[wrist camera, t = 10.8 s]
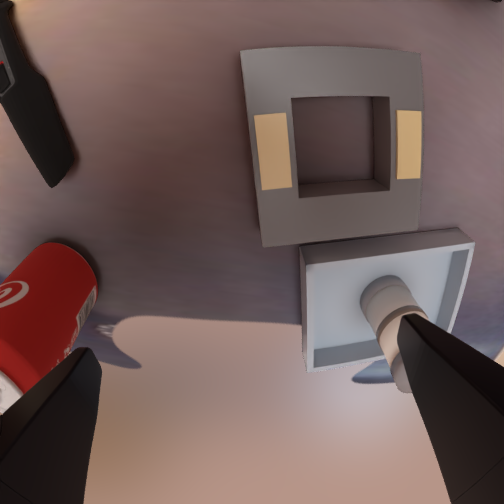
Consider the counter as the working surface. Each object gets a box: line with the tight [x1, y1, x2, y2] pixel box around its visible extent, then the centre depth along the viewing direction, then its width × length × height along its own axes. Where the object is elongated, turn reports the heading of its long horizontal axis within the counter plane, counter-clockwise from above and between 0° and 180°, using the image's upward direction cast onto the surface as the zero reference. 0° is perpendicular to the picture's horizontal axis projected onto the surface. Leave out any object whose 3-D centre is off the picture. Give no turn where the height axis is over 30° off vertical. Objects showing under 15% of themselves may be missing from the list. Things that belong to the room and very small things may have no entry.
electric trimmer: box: [0, 0, 74, 188], centre depth 14 cm, size 4×16×3 cm, turn 25°
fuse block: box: [240, 46, 424, 248], centre depth 17 cm, size 10×11×3 cm
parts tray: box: [299, 228, 475, 373], centre depth 23 cm, size 13×10×2 cm
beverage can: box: [0, 243, 98, 413], centre depth 17 cm, size 6×6×12 cm
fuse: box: [360, 275, 429, 393], centre depth 20 cm, size 4×4×8 cm
